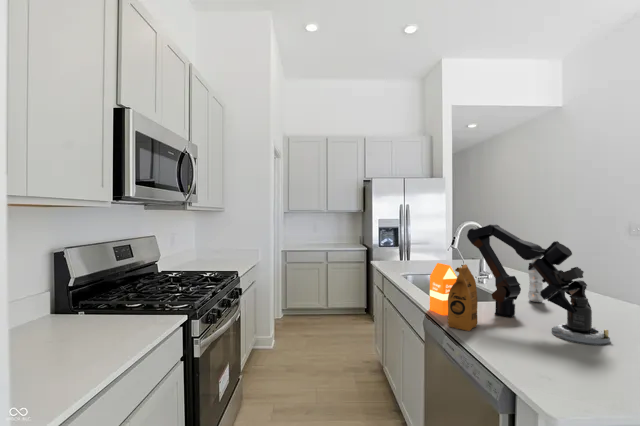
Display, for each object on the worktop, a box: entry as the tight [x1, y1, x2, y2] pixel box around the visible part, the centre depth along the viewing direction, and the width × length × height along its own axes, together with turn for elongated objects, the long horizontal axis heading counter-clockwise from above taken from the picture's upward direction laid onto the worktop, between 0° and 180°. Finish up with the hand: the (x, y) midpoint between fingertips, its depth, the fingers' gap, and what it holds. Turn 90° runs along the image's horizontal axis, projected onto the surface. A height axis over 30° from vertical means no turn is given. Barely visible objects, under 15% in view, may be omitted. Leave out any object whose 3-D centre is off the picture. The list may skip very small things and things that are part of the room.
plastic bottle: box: [527, 259, 545, 303], centre depth 168 cm, size 6×7×20 cm
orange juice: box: [429, 262, 458, 316], centre depth 151 cm, size 8×9×20 cm
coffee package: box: [447, 264, 478, 332], centre depth 132 cm, size 10×12×22 cm
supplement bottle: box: [566, 296, 593, 334], centre depth 121 cm, size 7×7×12 cm
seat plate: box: [551, 322, 611, 346], centre depth 121 cm, size 16×16×4 cm
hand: (582, 311), depth 121 cm, fingers open, 9 cm apart
